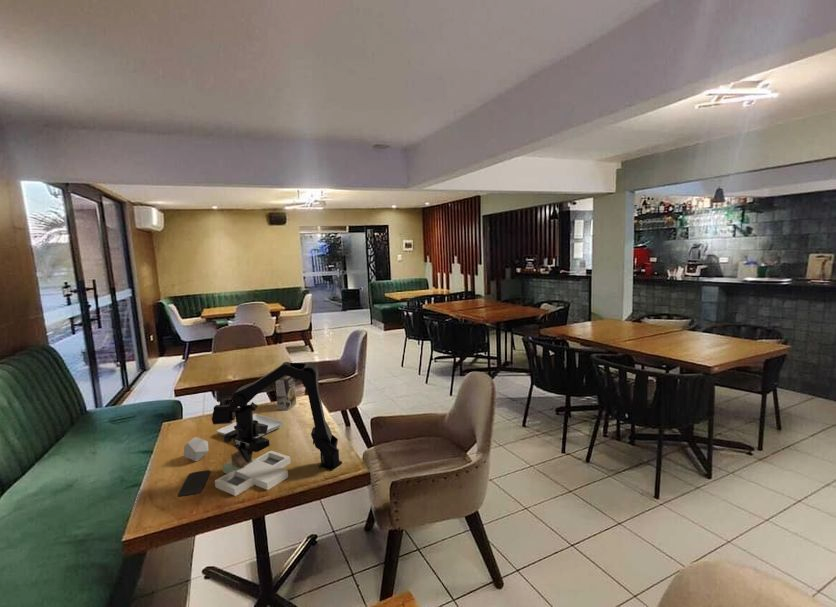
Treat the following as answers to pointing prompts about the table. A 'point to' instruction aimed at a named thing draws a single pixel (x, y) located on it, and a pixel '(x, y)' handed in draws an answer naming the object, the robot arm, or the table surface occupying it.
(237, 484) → the box
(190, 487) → the phone
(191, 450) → the die
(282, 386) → the coffee box
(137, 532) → the table surface
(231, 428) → the salad plate
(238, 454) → the walnut block
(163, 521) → the table surface
